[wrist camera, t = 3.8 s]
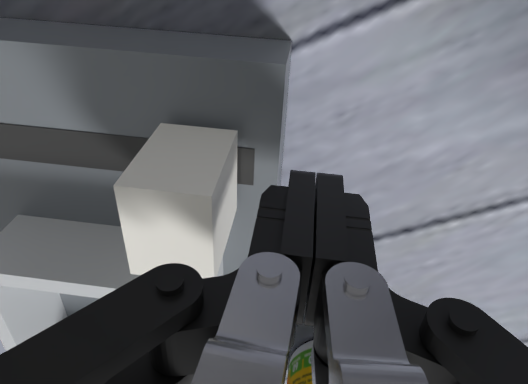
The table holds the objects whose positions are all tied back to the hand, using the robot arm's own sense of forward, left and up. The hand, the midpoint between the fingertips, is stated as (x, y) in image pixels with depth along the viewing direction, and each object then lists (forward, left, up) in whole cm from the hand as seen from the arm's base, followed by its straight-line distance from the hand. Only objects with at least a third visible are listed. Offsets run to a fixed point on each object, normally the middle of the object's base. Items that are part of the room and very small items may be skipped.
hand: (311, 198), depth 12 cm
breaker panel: (+7, +4, -4) cm, 9 cm away
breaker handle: (+4, 0, -1) cm, 4 cm away
